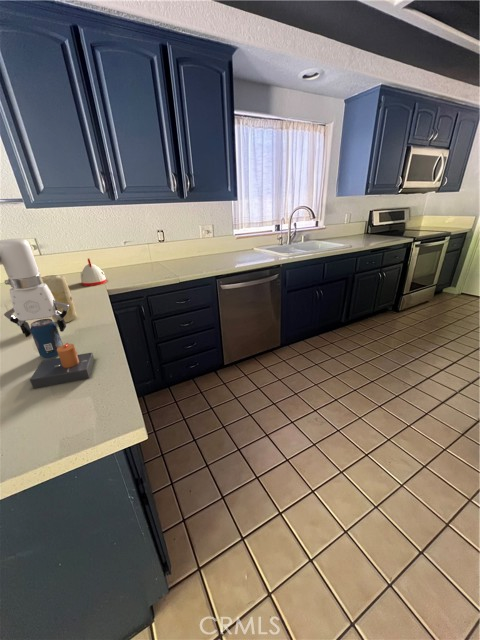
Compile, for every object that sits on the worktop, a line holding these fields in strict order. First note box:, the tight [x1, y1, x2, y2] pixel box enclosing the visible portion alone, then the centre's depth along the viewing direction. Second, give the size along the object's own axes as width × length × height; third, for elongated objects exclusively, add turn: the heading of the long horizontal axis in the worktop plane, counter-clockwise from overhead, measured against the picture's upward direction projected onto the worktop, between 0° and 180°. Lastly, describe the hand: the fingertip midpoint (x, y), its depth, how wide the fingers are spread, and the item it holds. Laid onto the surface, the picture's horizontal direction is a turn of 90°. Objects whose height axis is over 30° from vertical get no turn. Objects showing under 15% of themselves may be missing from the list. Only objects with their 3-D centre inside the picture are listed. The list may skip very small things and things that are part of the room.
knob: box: [57, 342, 79, 368], centre depth 78 cm, size 4×4×6 cm
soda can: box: [30, 318, 64, 360], centre depth 87 cm, size 7×7×12 cm
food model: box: [41, 274, 78, 324], centre depth 110 cm, size 10×7×20 cm
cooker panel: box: [29, 352, 95, 389], centre depth 79 cm, size 14×10×3 cm
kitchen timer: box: [80, 258, 107, 287], centre depth 165 cm, size 14×14×15 cm
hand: (46, 332), depth 86 cm, fingers open, 9 cm apart
